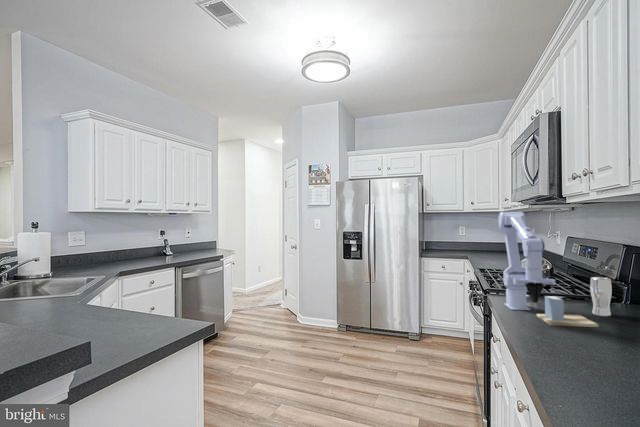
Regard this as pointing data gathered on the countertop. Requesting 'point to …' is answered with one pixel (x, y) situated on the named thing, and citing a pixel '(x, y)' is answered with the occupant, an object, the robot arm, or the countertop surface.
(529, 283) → the robot arm
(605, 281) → the beer glass
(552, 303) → the slab
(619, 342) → the countertop surface
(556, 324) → the board
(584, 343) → the countertop surface
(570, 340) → the countertop surface
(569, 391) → the countertop surface
